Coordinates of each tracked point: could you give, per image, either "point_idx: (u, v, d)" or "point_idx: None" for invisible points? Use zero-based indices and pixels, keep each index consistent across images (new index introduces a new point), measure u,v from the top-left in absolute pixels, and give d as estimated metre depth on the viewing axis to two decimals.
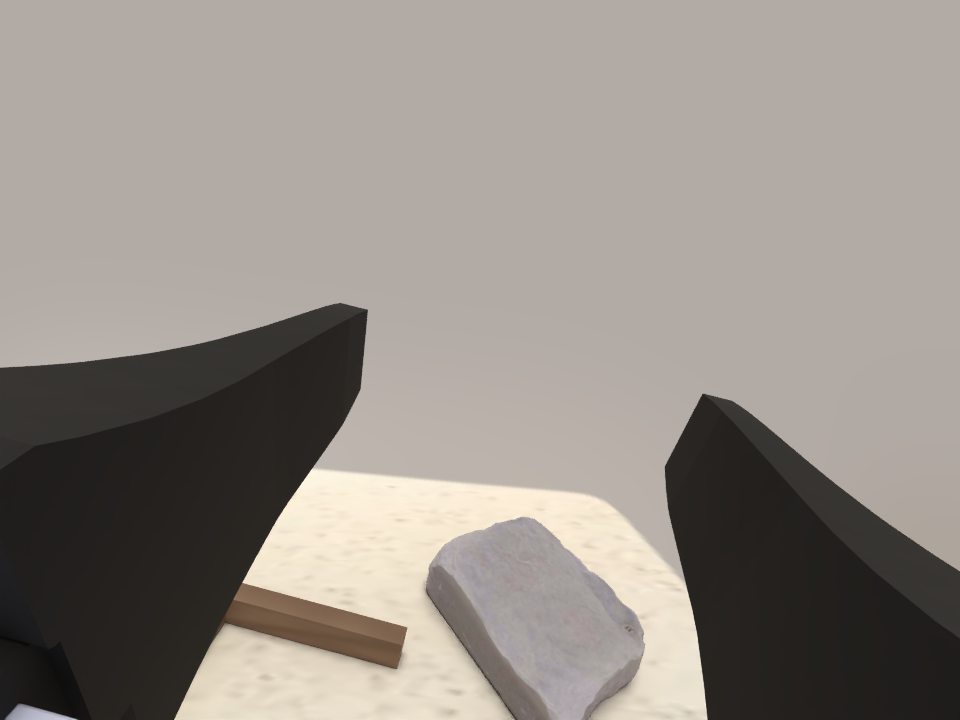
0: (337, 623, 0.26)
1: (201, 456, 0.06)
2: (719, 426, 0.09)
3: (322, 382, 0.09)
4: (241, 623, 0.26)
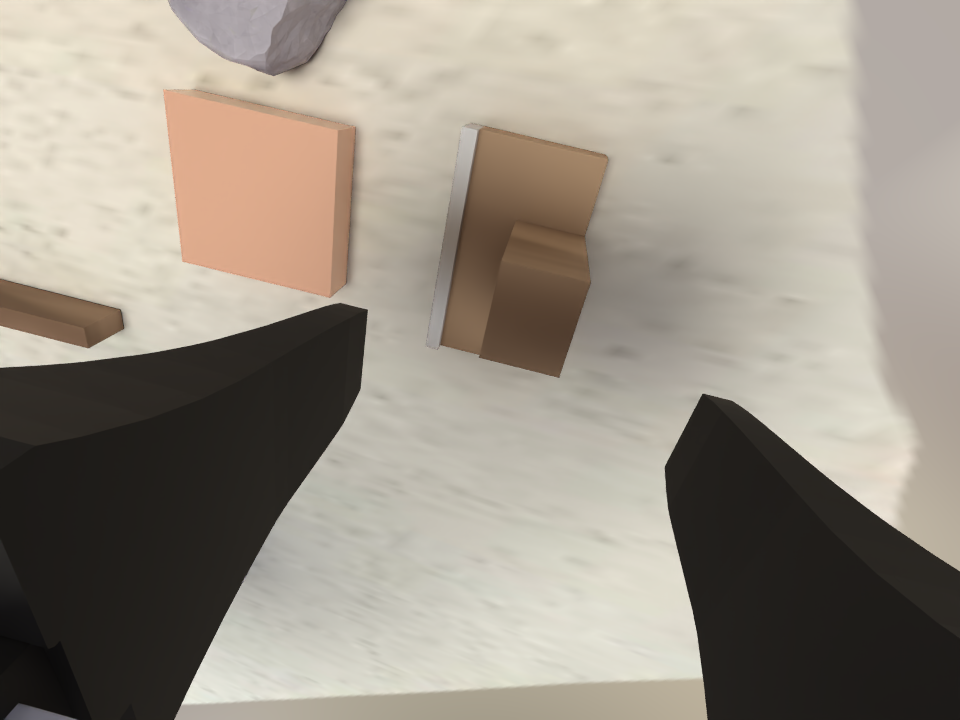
0: None
1: (201, 455, 0.06)
2: (719, 426, 0.09)
3: (322, 381, 0.09)
4: None
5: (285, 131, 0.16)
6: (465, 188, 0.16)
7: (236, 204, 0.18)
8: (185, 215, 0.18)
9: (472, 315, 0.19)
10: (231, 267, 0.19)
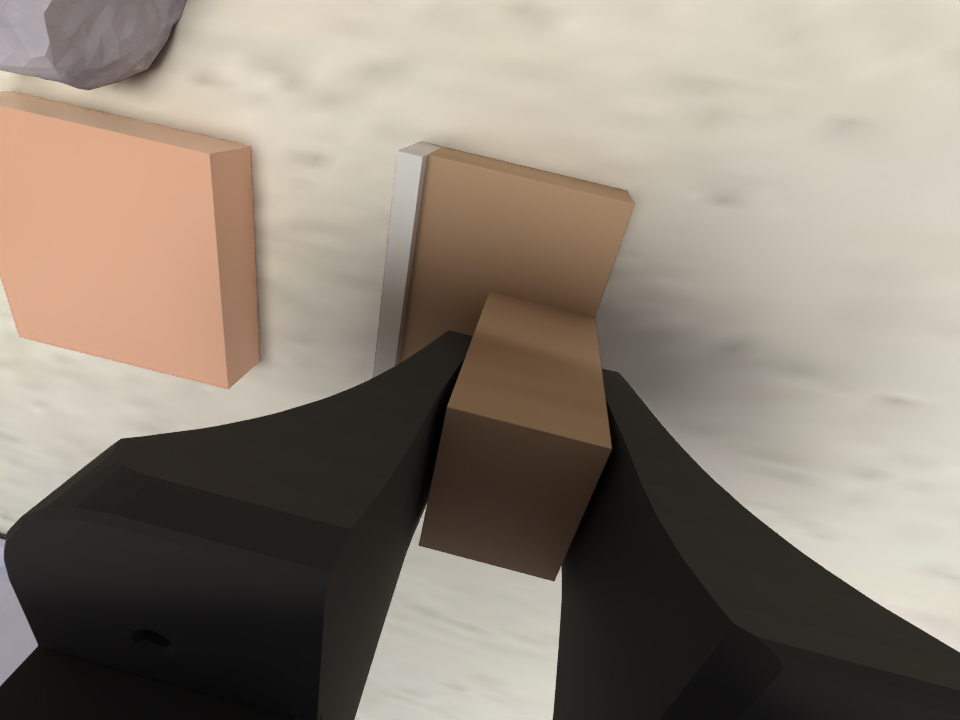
0: None
1: (396, 507, 0.06)
2: None
3: None
4: None
5: (131, 155, 0.11)
6: (408, 246, 0.10)
7: (77, 261, 0.12)
8: (10, 275, 0.13)
9: None
10: (87, 346, 0.13)
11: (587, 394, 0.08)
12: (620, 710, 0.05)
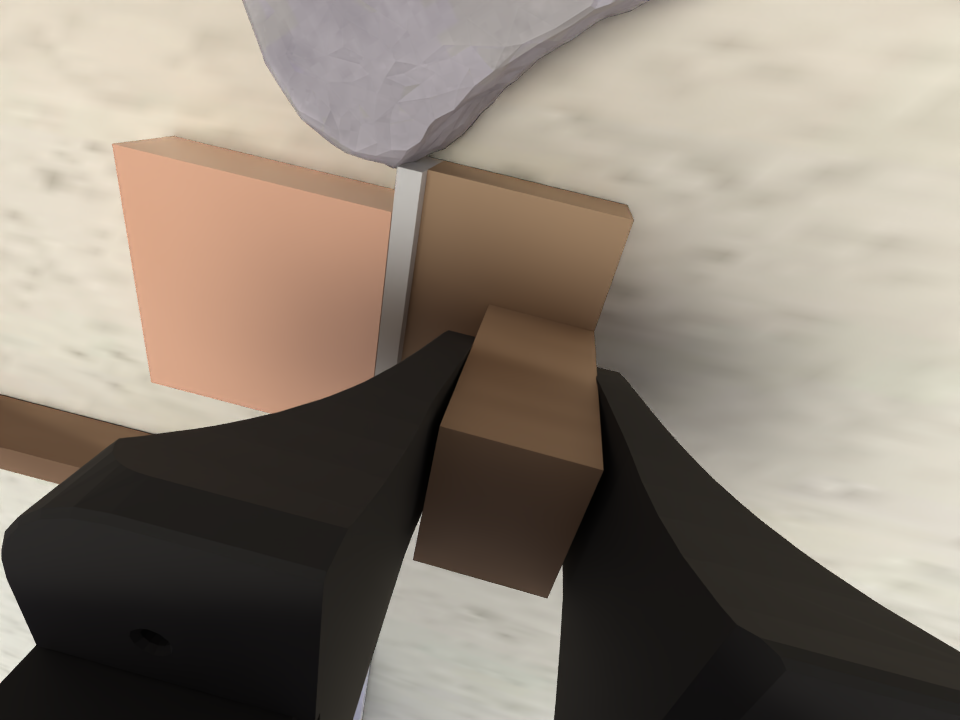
0: None
1: (395, 507, 0.06)
2: None
3: None
4: None
5: (306, 211, 0.10)
6: (408, 260, 0.10)
7: (228, 312, 0.12)
8: (153, 323, 0.12)
9: None
10: (222, 393, 0.13)
11: (582, 412, 0.08)
12: (621, 710, 0.05)
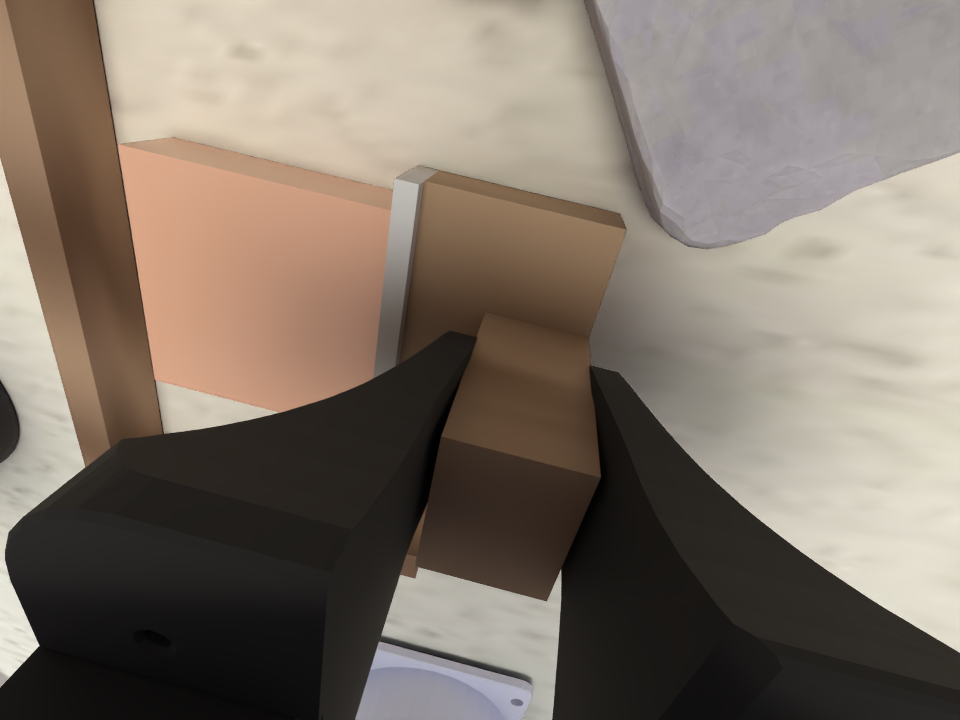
0: None
1: (398, 507, 0.06)
2: (593, 394, 0.09)
3: None
4: None
5: (308, 210, 0.10)
6: (405, 269, 0.11)
7: (231, 309, 0.12)
8: (157, 321, 0.12)
9: None
10: (225, 390, 0.13)
11: (578, 420, 0.08)
12: (619, 710, 0.05)
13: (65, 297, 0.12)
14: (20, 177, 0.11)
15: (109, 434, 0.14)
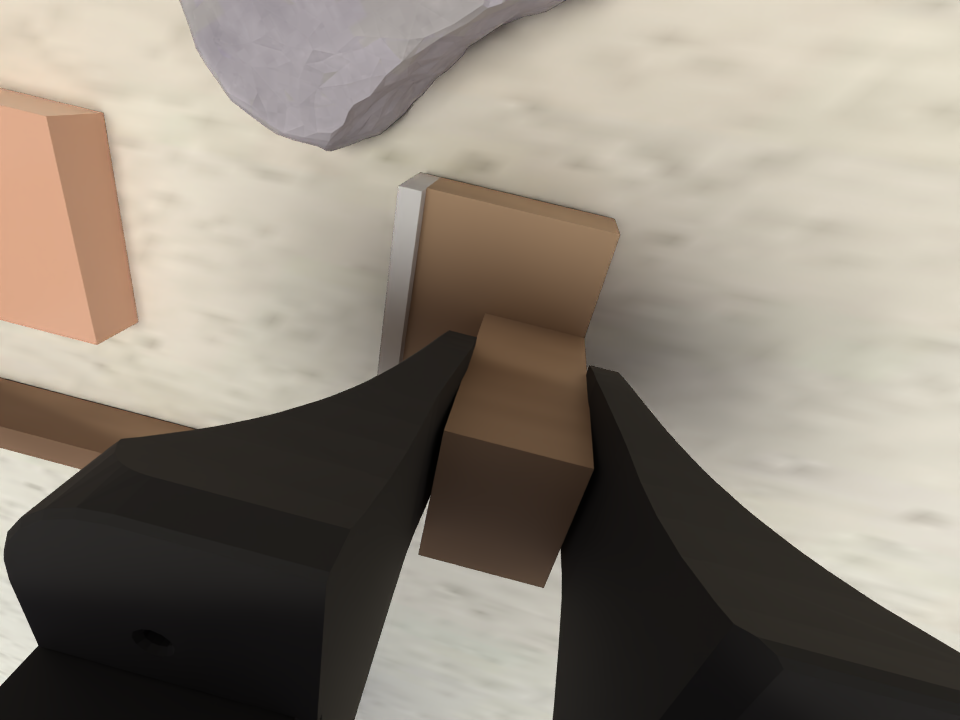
0: None
1: (397, 507, 0.06)
2: (593, 394, 0.09)
3: (448, 414, 0.09)
4: None
5: None
6: (408, 272, 0.11)
7: None
8: None
9: None
10: None
11: (573, 416, 0.09)
12: (620, 710, 0.05)
13: None
14: None
15: None
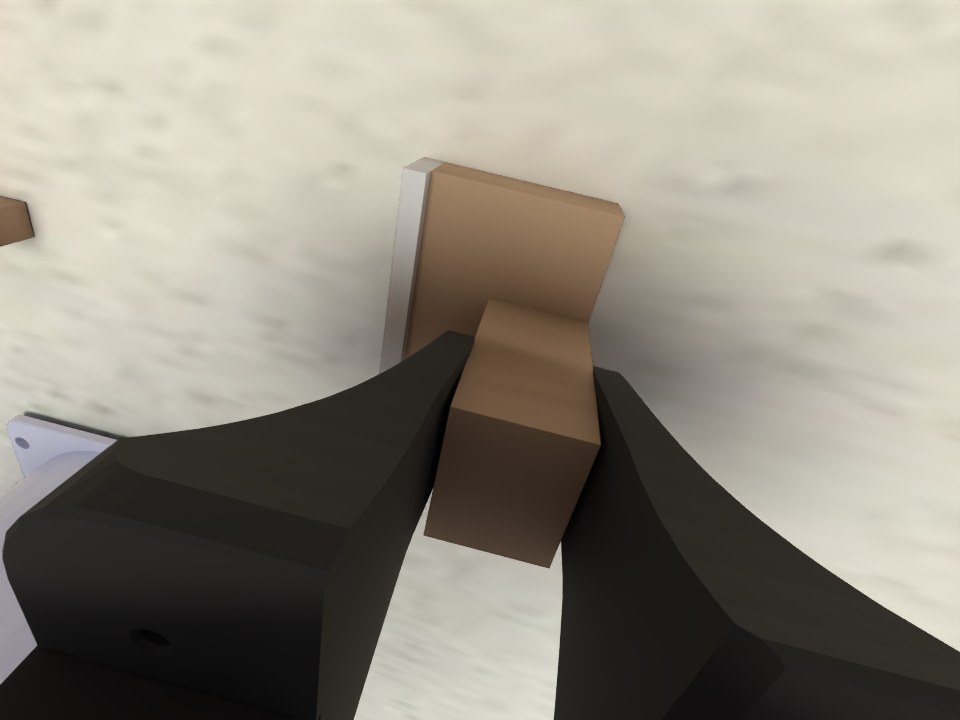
0: None
1: (395, 506, 0.06)
2: None
3: (448, 414, 0.09)
4: None
5: None
6: (413, 256, 0.11)
7: None
8: None
9: None
10: None
11: (579, 395, 0.09)
12: (621, 710, 0.05)
13: None
14: None
15: None
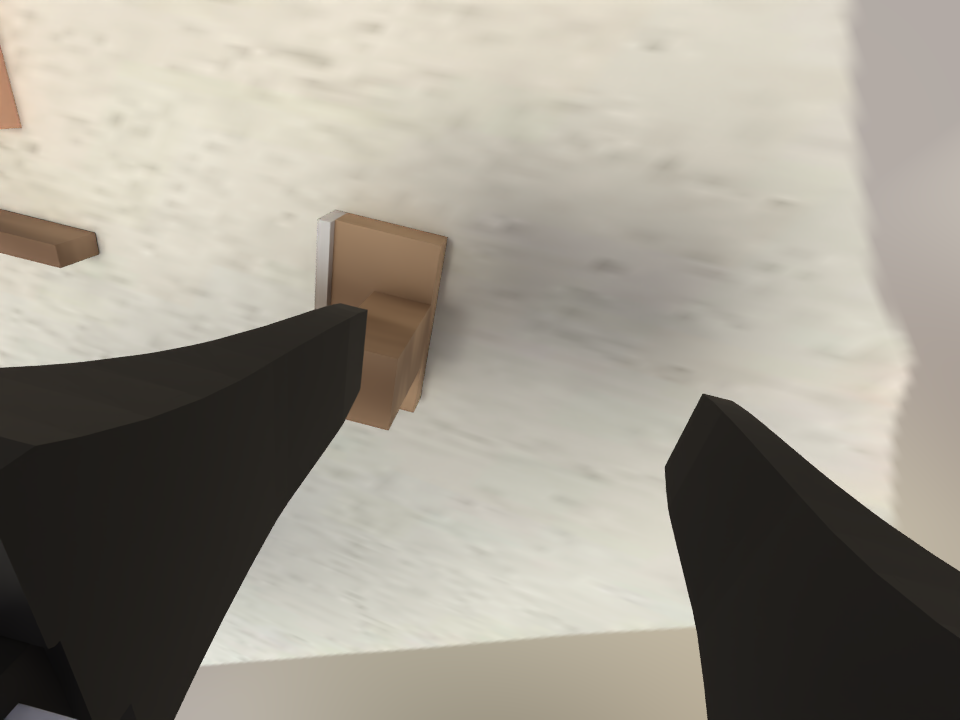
0: None
1: (201, 455, 0.06)
2: (719, 426, 0.09)
3: (322, 381, 0.09)
4: None
5: None
6: (327, 266, 0.20)
7: None
8: None
9: None
10: None
11: (400, 339, 0.17)
12: None
13: None
14: None
15: None
